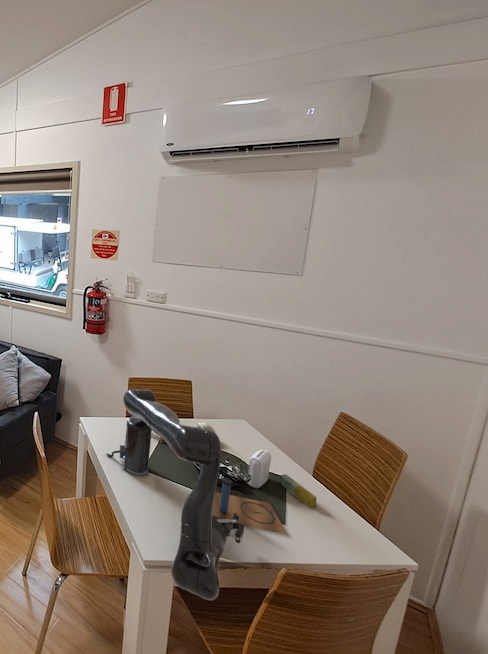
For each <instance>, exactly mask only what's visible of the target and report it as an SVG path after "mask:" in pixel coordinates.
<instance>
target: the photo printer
mask: <svg viewBox="0 0 488 654" xmlns="http://www.w3.org/2000/svg"><path fill="white" fill-rule="evenodd" d="M271 461H272V455H271V453H270V452H269V451H268V450H266V449H260V450H258V451H256V452H255V453H253V455H252V456H251V457H250V459H249V466H248V473H247V475H248V474H250V475H251V476H252V477H251V480H250V481H249V482H247V481H246V483H247V484H248V485H249V486H250V487H252V488H255V489H259V488H261V487H262V486H263V485H264V484H266V482H267V481H268V480H269V477H270V468H271Z"/></svg>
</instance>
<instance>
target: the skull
mask: <svg viewBox="0 0 488 654" xmlns="http://www.w3.org/2000/svg"><path fill="white" fill-rule="evenodd" d="M195 427H196V428H203V429H208V430H211V431H213V432H215V433H216V430H215V429H214V427H212V426H211V425H210V424H208V423H207V422H198V423H197V424H196V426H195Z"/></svg>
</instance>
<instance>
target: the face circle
mask: <svg viewBox="0 0 488 654" xmlns="http://www.w3.org/2000/svg"><path fill="white" fill-rule="evenodd" d="M244 503H253V502H243V503H242V504H241V506H240V508H241V510H242V512H243V513H244V511H243V509H242V505H243V504H244ZM253 504H257V503H253ZM257 505H259V504H257ZM259 506H261V505H259ZM261 507H263V506H261ZM263 508H265V507H263ZM265 509H266V508H265ZM266 510H267V511H269V510H268V509H266ZM269 512H270V511H269ZM270 513H271V512H270ZM244 514H245V515H246V516H248V515H247V514H246V513H244ZM271 515H272V517H273V521H272V522H269V523H263V522H258V521H256V520H254V519H252V518H250V517H249V516H248V517H249V518H250V519H252V520H254V521H256V522H258V523H263V524H271V523H274V520H275V518H274V516H273V514H272V513H271Z"/></svg>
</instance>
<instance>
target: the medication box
mask: <svg viewBox="0 0 488 654" xmlns="http://www.w3.org/2000/svg"><path fill="white" fill-rule="evenodd" d="M280 485H281V486H283V487H284V488H285V489H286V490H287V491H289V492H290V493H291V494H292V495H293V496H294V497H296V498H297V499H298V500H299V501H300V502H302V503H303V504H304V505H306V506H307V507H308V508H309V509H314V508H316V507H317V498H318V497H317V496H316V495H314V494H313V493H312V492H310V491H309V490H308V489H306V488H305V487H304V486H303V485H301V484H300V483H298V482H297V481H296V480H295V479H293V478H291V476H289V475H288V474H281V475H280Z"/></svg>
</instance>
